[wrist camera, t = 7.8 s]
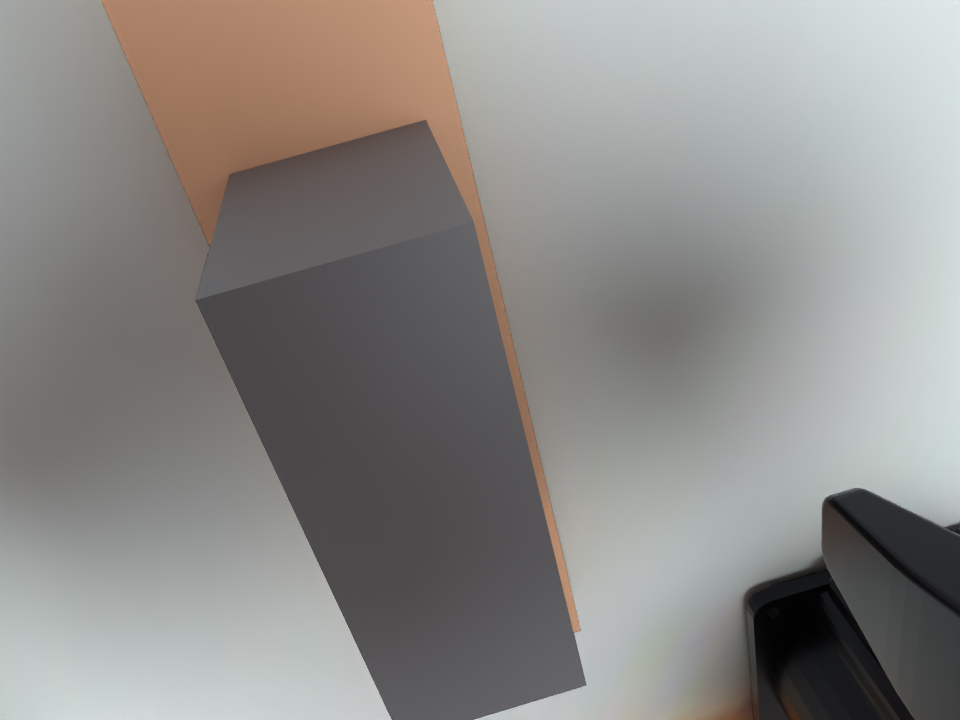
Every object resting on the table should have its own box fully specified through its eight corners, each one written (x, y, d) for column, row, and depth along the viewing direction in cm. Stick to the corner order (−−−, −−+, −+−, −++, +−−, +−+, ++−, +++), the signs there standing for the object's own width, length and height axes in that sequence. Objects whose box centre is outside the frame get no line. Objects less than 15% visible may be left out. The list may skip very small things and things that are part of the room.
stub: (569, 597, 19) (645, 810, 15) (397, 648, 19) (423, 878, 15) (376, -204, 11) (423, -255, 6) (68, -123, 11) (-101, -120, 6)
